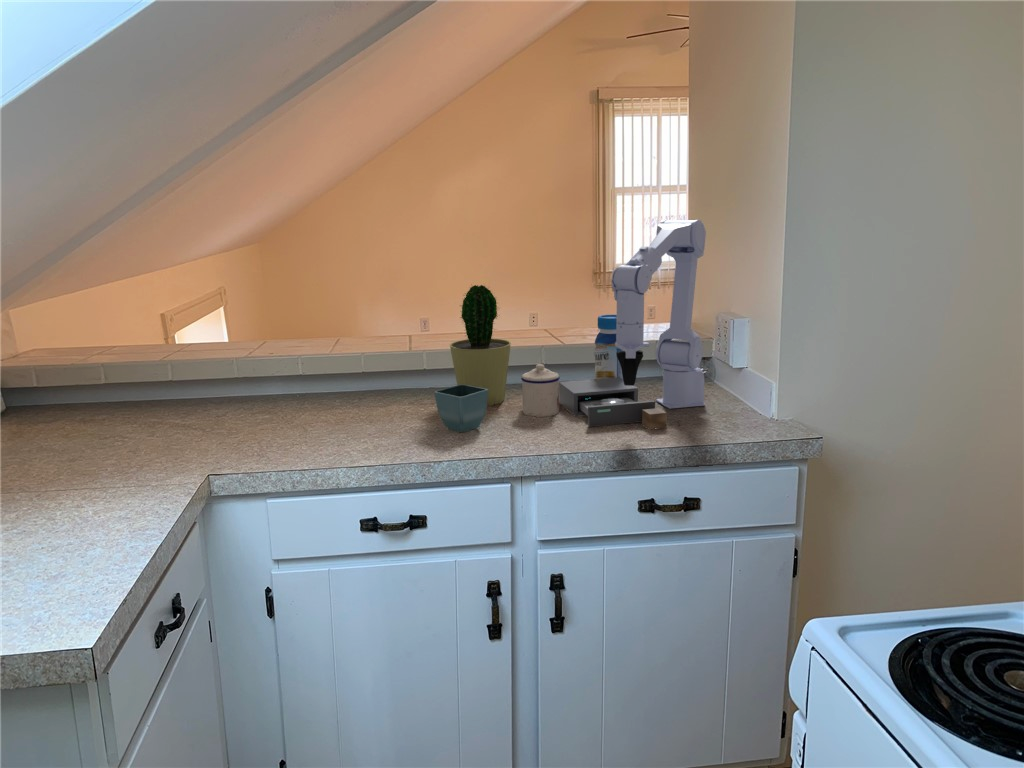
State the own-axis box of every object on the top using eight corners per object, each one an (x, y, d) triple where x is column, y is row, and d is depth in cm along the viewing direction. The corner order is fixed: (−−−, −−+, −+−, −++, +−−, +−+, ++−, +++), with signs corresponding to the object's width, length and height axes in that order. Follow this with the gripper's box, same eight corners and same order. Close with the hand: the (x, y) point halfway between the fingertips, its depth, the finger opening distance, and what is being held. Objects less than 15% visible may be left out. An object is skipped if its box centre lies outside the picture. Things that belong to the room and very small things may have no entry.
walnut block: (658, 423, 167) (659, 408, 166) (666, 428, 163) (666, 412, 162) (642, 424, 166) (642, 409, 165) (649, 429, 162) (649, 414, 161)
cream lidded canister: (566, 414, 176) (566, 366, 173) (532, 419, 172) (531, 370, 169) (543, 402, 186) (542, 357, 183) (510, 407, 182) (509, 361, 180)
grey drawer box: (619, 397, 189) (619, 377, 188) (639, 410, 177) (639, 388, 176) (559, 402, 186) (559, 382, 185) (575, 416, 173) (575, 394, 172)
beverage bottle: (631, 393, 193) (632, 317, 188) (601, 396, 190) (601, 319, 186) (618, 386, 200) (619, 313, 196) (589, 389, 198) (589, 315, 194)
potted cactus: (448, 408, 183) (443, 286, 176) (455, 393, 198) (450, 280, 191) (511, 408, 182) (507, 285, 175) (513, 392, 197) (510, 279, 190)
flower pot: (434, 429, 166) (432, 391, 164) (463, 421, 172) (461, 383, 170) (461, 437, 160) (460, 397, 158) (490, 428, 166) (489, 389, 164)
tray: (634, 406, 179) (634, 389, 178) (655, 420, 168) (655, 401, 167) (572, 412, 176) (572, 394, 175) (589, 426, 164) (589, 407, 163)
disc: (618, 404, 175) (618, 397, 175) (628, 410, 170) (628, 403, 170) (596, 407, 174) (596, 399, 174) (605, 413, 169) (605, 405, 168)
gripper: (651, 327, 150) (649, 393, 153) (647, 317, 164) (646, 377, 167) (615, 327, 151) (615, 392, 154) (615, 317, 165) (614, 377, 168)
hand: (629, 384), depth 160 cm, fingers closed
